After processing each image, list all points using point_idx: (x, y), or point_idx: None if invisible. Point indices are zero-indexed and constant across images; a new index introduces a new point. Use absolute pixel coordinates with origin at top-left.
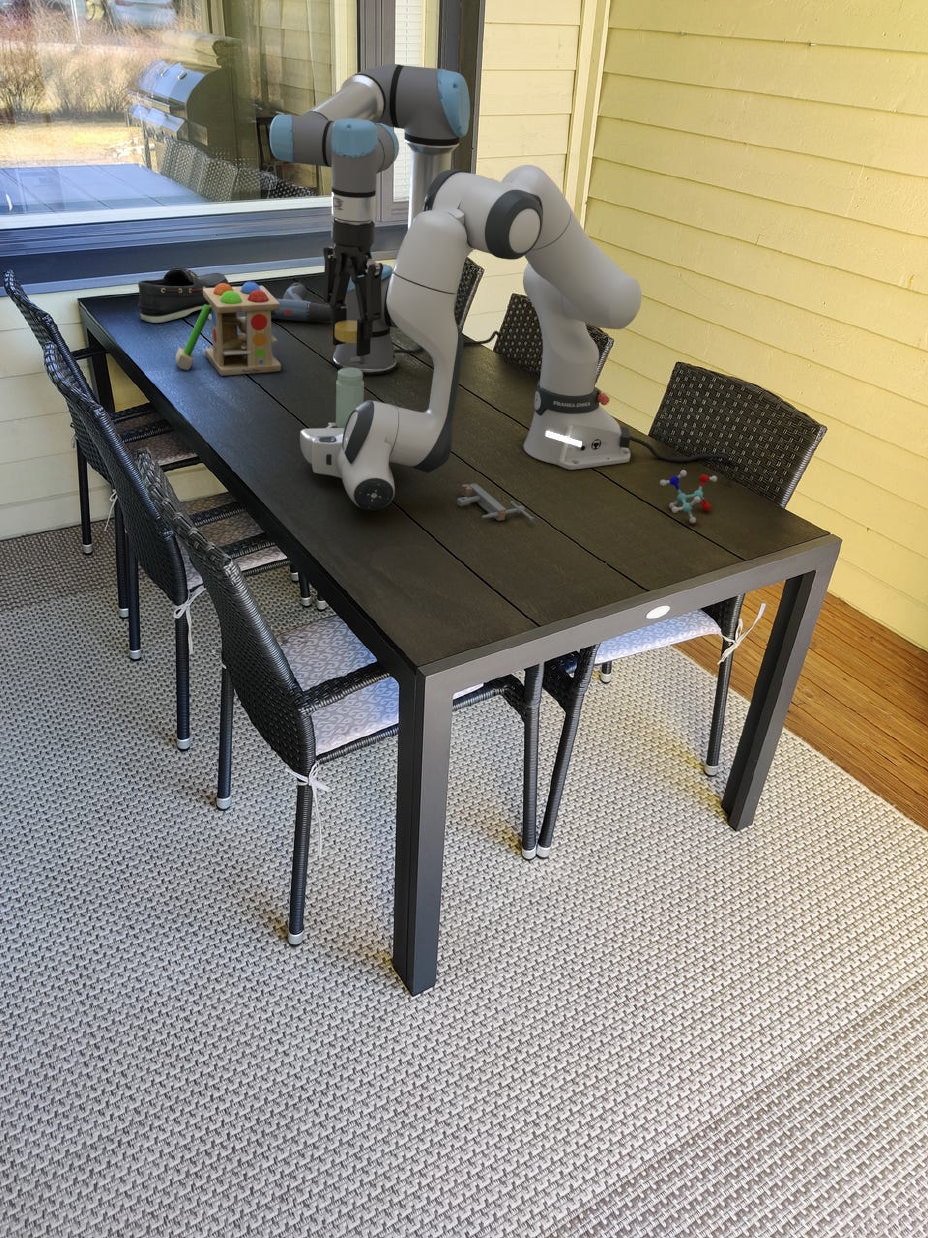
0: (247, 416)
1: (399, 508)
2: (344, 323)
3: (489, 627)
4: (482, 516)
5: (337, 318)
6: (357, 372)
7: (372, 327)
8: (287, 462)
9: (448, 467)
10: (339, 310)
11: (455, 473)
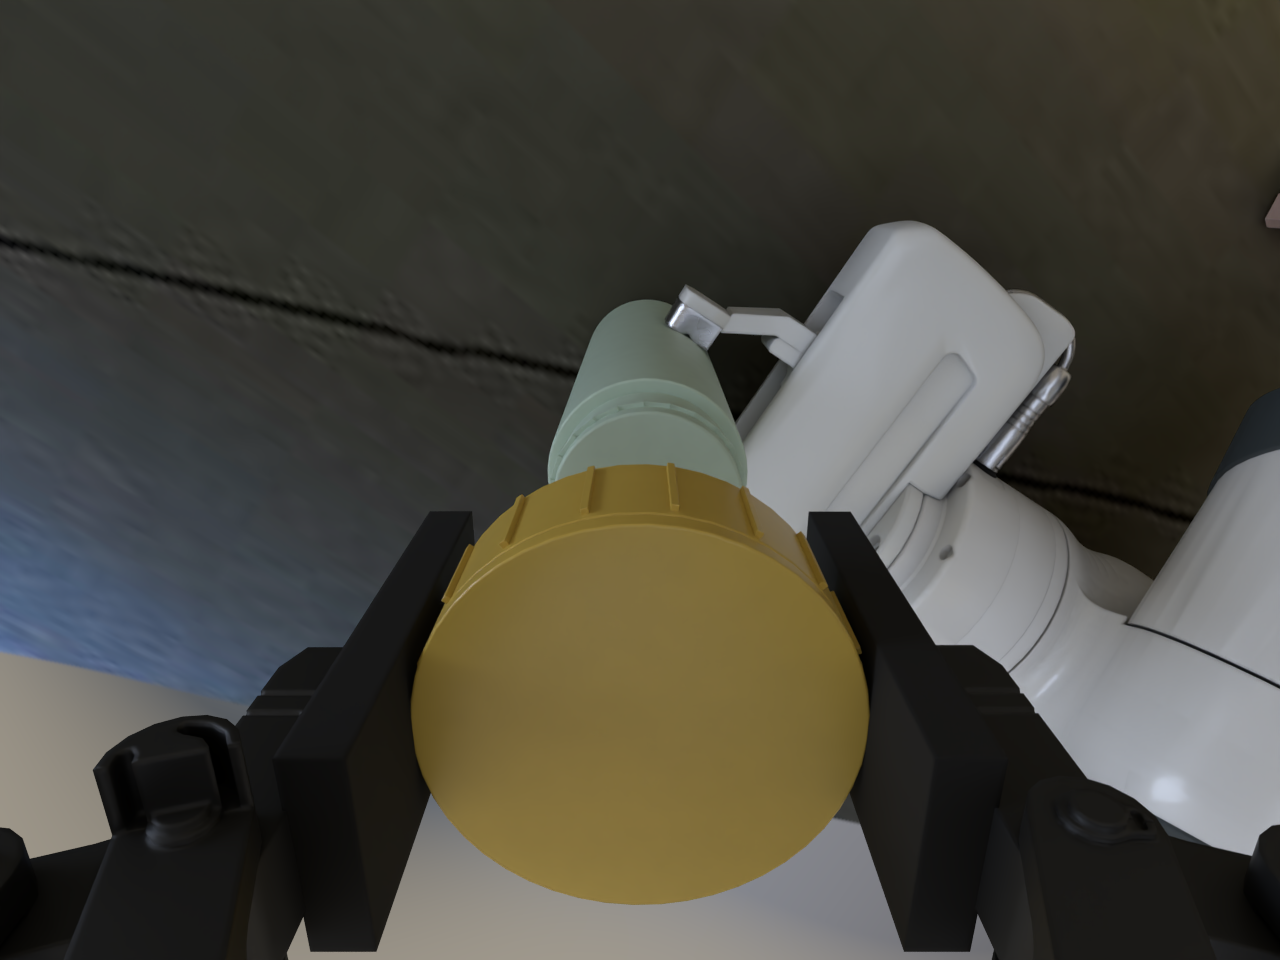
0: (53, 451)
1: (1112, 502)
2: (516, 755)
3: None
4: None
5: (407, 824)
6: (685, 464)
7: (1055, 738)
8: None
9: (1043, 33)
10: (367, 887)
11: (1109, 56)
